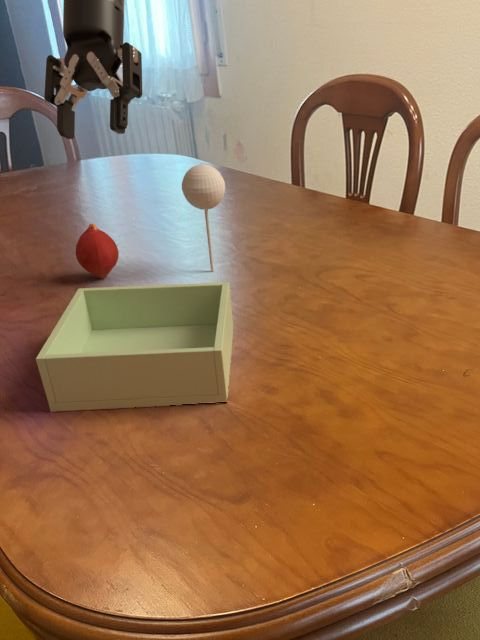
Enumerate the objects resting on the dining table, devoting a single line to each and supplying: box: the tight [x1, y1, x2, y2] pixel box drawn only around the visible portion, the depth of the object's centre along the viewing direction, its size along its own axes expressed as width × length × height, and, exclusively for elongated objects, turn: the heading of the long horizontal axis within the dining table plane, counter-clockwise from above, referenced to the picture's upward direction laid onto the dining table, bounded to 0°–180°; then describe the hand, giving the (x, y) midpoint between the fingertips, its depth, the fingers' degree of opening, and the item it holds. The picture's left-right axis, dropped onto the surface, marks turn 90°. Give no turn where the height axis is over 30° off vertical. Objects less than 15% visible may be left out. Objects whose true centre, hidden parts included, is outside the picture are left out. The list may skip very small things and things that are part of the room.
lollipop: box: [181, 164, 226, 273], centre depth 93 cm, size 6×6×15 cm
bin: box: [35, 281, 234, 413], centre depth 72 cm, size 18×18×6 cm
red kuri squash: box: [75, 222, 120, 279], centre depth 94 cm, size 6×6×8 cm
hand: (91, 134), depth 87 cm, fingers open, 8 cm apart
